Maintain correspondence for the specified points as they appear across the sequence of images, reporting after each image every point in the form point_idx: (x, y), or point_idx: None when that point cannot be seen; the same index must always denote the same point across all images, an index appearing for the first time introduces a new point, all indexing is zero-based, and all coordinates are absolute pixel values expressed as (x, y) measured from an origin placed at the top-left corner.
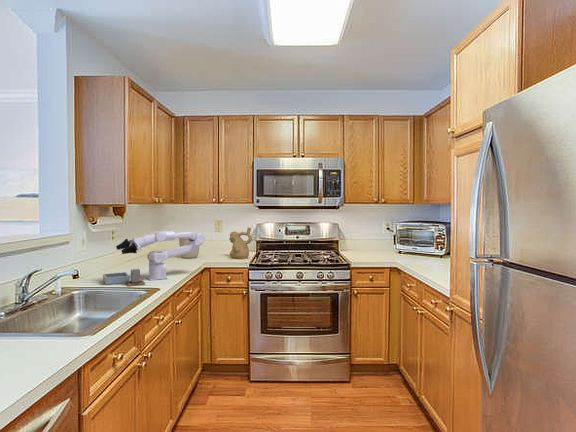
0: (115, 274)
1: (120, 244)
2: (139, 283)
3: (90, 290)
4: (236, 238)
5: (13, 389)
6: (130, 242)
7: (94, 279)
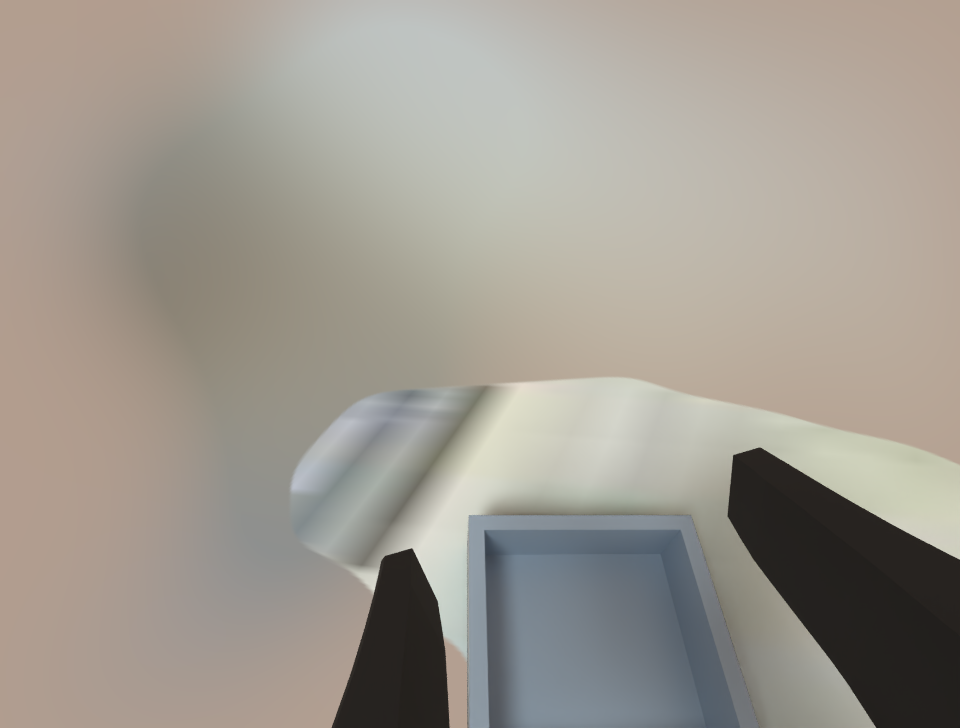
0: (711, 652)
1: (822, 531)
2: None
3: (338, 429)
4: None
5: None
6: None
7: None
